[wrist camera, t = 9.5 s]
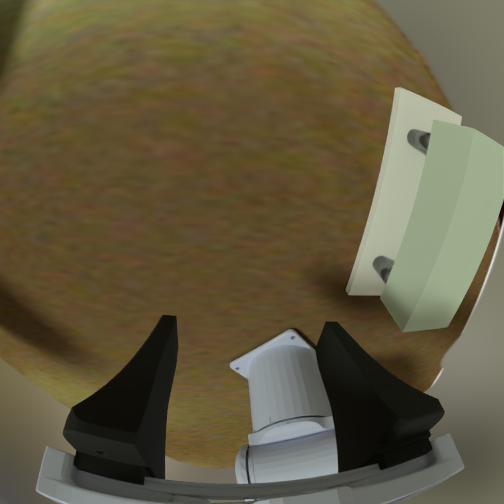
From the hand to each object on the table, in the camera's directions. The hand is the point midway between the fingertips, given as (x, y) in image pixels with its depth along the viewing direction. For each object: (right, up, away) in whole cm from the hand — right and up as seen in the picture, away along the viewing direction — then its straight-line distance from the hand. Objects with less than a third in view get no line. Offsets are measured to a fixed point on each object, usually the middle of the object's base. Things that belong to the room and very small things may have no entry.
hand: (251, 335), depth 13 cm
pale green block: (+13, +6, +5) cm, 15 cm away
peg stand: (+13, +8, +8) cm, 17 cm away
